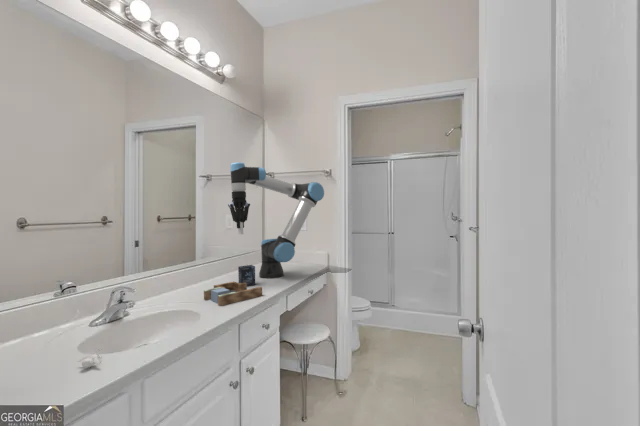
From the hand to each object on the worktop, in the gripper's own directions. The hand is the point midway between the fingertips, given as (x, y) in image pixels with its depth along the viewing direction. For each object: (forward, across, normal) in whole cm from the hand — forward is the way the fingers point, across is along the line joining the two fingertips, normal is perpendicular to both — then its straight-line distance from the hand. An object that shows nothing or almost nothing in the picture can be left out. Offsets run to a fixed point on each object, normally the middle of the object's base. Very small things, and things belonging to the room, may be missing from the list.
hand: (240, 234), depth 173 cm
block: (+28, +24, +17) cm, 41 cm away
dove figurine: (+27, +79, +45) cm, 95 cm away
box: (+29, -2, +1) cm, 29 cm away
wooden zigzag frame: (+28, +17, +14) cm, 36 cm away
